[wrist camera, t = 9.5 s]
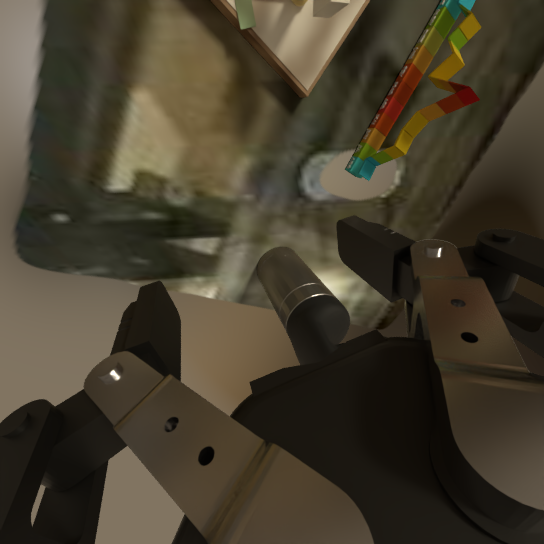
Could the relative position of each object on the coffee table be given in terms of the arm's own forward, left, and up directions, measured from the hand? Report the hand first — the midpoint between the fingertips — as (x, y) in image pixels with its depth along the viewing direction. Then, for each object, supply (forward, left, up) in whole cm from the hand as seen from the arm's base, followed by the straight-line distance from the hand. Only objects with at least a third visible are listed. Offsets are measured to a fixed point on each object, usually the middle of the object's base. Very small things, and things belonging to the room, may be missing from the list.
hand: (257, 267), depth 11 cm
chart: (-20, -29, -35) cm, 50 cm away
